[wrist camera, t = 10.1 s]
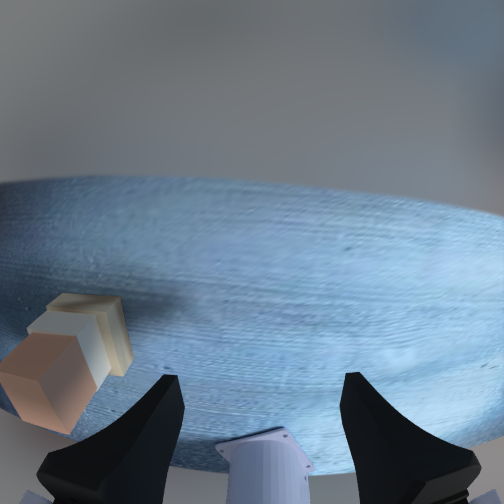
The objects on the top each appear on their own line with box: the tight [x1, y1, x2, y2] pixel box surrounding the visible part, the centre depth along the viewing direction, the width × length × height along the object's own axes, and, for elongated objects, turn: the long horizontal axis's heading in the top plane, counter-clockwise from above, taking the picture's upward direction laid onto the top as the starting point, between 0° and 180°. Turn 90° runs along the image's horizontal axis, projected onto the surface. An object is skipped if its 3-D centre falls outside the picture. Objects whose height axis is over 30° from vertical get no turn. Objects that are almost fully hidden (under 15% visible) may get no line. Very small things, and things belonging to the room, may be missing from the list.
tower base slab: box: [46, 293, 134, 377], centre depth 23 cm, size 6×6×3 cm
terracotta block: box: [0, 332, 97, 435], centre depth 16 cm, size 4×4×5 cm
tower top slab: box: [27, 310, 111, 391], centre depth 20 cm, size 5×5×3 cm
